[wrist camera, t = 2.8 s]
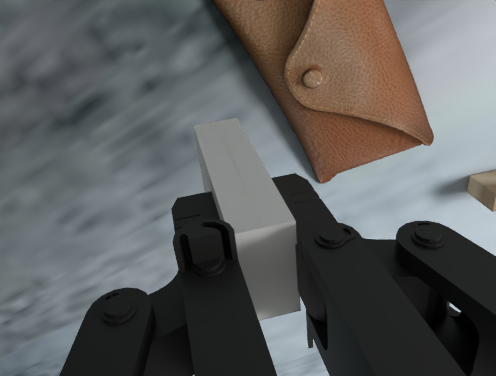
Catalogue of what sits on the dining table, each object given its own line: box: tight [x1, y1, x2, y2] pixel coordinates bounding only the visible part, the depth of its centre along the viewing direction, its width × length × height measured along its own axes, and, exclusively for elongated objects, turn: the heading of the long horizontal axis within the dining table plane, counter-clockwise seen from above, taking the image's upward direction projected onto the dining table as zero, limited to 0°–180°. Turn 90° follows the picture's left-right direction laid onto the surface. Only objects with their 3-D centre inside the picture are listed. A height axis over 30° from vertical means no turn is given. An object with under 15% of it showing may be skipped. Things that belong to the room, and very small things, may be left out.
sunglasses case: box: [213, 0, 434, 183], centre depth 27 cm, size 18×7×7 cm
